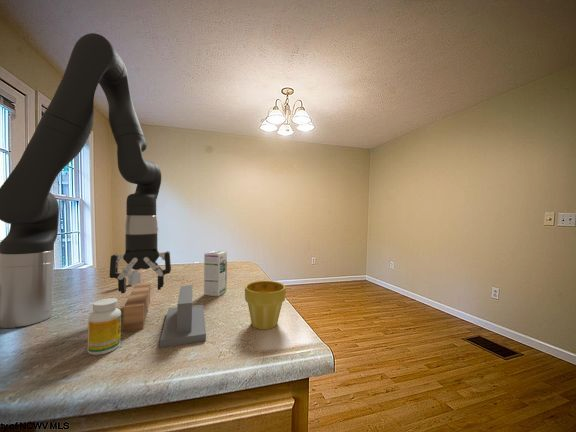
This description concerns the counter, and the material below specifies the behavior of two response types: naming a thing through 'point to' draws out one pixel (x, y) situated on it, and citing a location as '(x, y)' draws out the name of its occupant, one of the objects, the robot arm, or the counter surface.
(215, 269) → the syrup box
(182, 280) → the counter surface
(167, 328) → the ridge stand
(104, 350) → the supplement bottle
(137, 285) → the wooden beam
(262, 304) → the plant pot
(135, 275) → the lighter
